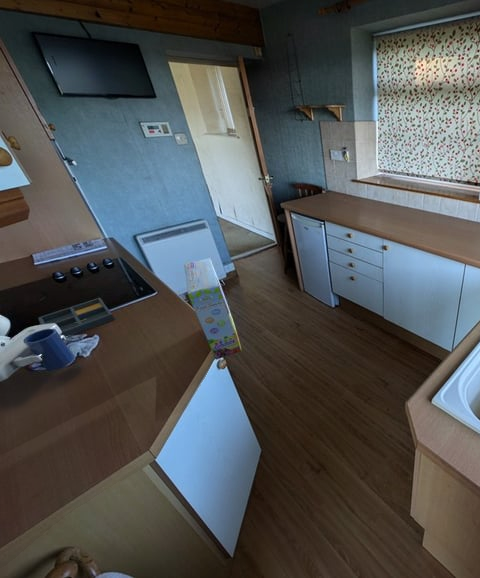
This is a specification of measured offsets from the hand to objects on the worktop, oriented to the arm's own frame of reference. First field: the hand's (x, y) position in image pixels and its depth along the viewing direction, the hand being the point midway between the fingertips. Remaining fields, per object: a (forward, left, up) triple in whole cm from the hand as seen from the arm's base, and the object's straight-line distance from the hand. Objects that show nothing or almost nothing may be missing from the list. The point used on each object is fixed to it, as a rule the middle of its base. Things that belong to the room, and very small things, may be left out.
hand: (52, 347), depth 82 cm
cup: (-1, +1, -5) cm, 6 cm away
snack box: (+37, -18, -11) cm, 42 cm away
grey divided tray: (+7, +32, -10) cm, 34 cm away
